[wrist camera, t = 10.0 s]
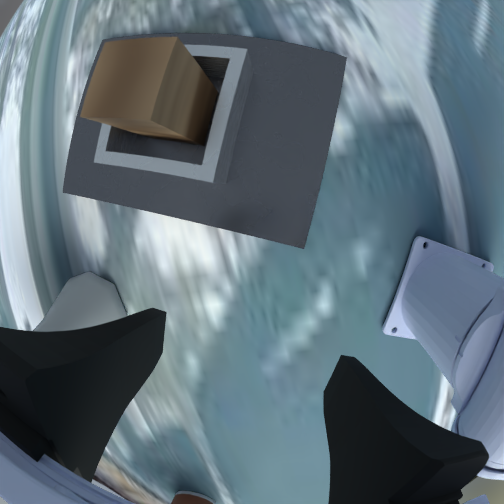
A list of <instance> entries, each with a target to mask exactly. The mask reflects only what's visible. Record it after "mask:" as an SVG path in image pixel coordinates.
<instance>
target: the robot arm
mask: <svg viewBox="0 0 504 504" xmlns="http://www.w3.org/2000/svg"><path fill="white" fill-rule="evenodd" d="M425 242H426V247H424V248H423V244H424V243H425ZM482 265H483V267H482ZM492 272H493V264H492V263H490V262H488V261H485V260H483V259H480V258H478V257H475V256H473V255H470V254H468V253H465V252H462V251H460V250H457V249H454V248H452V247H449V246H446V245H444V244H441V243H438V242H435V241H432V240H430V239H427V238H424V237H421V236H418V237H416V238H415V239H414V241H413V244H412V248H411V251H410V254H409V257H408V260H407V264H406V267H405V270H404V273H403V275H402V278H401V281H400V284H399V287H398V289H397V292H396V295H395V297H394V300H393V303H392V305H391V308H390V310H389V313H388V315H387V317H386V320H385V322H384V325H383V327H382V330H383V332H384V333H385V334H387V335H393V336H398V337H404V338H410V339H417V340H418V341H419V343H420V344H421V345H422V346H423V348H424V349H425V350H426V352H427V353H428V354H429V356H430V357H431V358H432V360H433V361H434V362H435V364H436V365H437V366H438V368H439V369H440V370H441V372H442V373H443V374H444V376H445V377H446V379H447V380H448V381H449V383H450V384H451V386H452V387H453V388H454V395H453V398H452V400H451V403H452V405H453V407H454V408H455V410H456V411H457V413H458V414H459V415H458V416H457V417H456V419H455V421H454V423H453V425H452V428H451V431H449V430H447V429H444V428H442V427H440V426H438V425H436V424H435V423H433V422H431V421H429V420H428V419H426V418H424V417H423V416H421V415H419V414H418V413H416V412H415V411H414V410H412V409H411V408H410V407H408V406H407V405H405V404H404V403H403V402H402V401H400V400H399V399H398V398H397V397H396V396H395V395H394V394H392V393H391V392H390V391H389V390H388V389H387V388H386V387H385V386H384V385H383V384H382V383H381V382H380V381H379V380H378V379H377V378H376V377H375V376H374V375H373V374H372V373H371V372H370V371H369V370H368V369H367V368H366V367H365V366H364V365H363V364H362V363H361V362H360V361H358V360H357V359H356V358H355V357H350V356H344V355H341V356H340V359H339V361H338V363H337V365H336V367H335V369H334V372H333V374H332V376H331V378H330V380H329V382H328V384H327V386H326V388H325V390H324V418H325V425H326V432H327V438H328V445H329V452H330V492H329V504H459V501H458V500H459V499H460V498H462V496H463V494H462V492H461V489H462V488H463V487H464V486H465V485H467V484H468V483H469V482H470V481H471V480H472V479H473V478H474V477H475V476H476V475H478V476H480V477H483V478H487V479H497V480H504V278H502V277H500V276H498V275H496V274H494V273H492ZM165 321H166V312H164V311H161V310H158V309H155V308H150V309H147V310H144V311H141V312H138V313H135V314H132V315H129V316H126V317H123V318H120V319H117V320H114V321H111V322H107V323H103V324H100V325H96V326H92V327H87V328H81V329H75V330H66V331H51V332H39V331H23V330H16V329H9V328H4V327H0V496H1V497H2V498H3V499H4V500H5V501H6V502H7V503H8V504H135V503H132V502H130V501H127V500H125V499H123V498H121V497H118V496H116V495H114V494H112V493H110V492H108V491H106V490H104V489H102V488H100V487H98V486H96V485H94V484H92V483H91V482H92V479H93V476H94V474H95V471H96V468H97V466H98V463H99V461H100V459H101V456H102V454H103V452H104V450H105V447H106V445H107V443H108V441H109V439H110V437H111V435H112V433H113V431H114V429H115V427H116V425H117V423H118V421H119V419H120V418H121V416H122V414H123V412H124V411H125V409H126V408H127V406H128V405H129V403H130V402H131V400H132V399H133V398H134V396H135V395H136V394H137V392H138V391H139V389H140V388H141V387H142V385H143V384H144V383H145V381H146V380H147V378H148V377H149V376H150V374H151V373H152V371H153V370H154V368H155V366H156V364H157V363H158V361H159V359H160V357H161V355H162V353H163V342H164V331H165ZM394 327H396V328H395V330H393V331H392V329H393V328H394ZM463 504H489V501H488V499H487V496H486V495H485V494H484V495H481V496H479V497H476V498H474V499H472V500H469V501H467V502H465V503H463Z"/></svg>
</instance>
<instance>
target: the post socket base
mask: <svg viewBox="0 0 504 504" xmlns="http://www.w3.org/2000/svg"><path fill="white" fill-rule="evenodd" d="M153 37H178V38H179V39H180V41H181V42H182V43H183V44H184V46H185V47H186V48H187V50H188V51H189V52H190V54H191V55H192V56H193V58H194V59H195V60H196V62H197V63H198V64H199V66H200V67H201V69H202V70H203V71H204V73H205V74H206V75H207V77H208V78H209V80H210V81H211V82H212V84H213V85H214V87H215V88H216V89H217V91H218V93H217V96H216V100H215V104H214V107H213V111H212V115H211V118H210V122H209V126H208V130H207V134H206V138H205V142H204V146H200V145H194V144H188V143H182V142H175V141H168V140H161V139H153V138H149V137H146V136H143V135H140V134H136V133H133V132H130V131H127V130H124V129H120V128H117V127H114V126H110V125H107V124H104V123H100V122H97V121H93V120H89V119H86V118H82V117H80V115H81V111H82V107H83V104H84V100H85V97H86V94H87V90H88V87H89V84H90V81H91V78H92V75H93V72H94V70H95V67H96V64H97V61H98V59H99V56H100V54H101V51H102V49H103V46H104V44H105V42H110V41H118V40H127V39H138V38H153ZM346 59H347V57H344V56H341V55H338V54H334V53H330V52H327V51H323V50H319V49H315V48H311V47H306V46H302V45H297V44H292V43H287V42H281V41H275V40H269V39H262V38H255V37H247V36H237V35H225V34H207V33H165V34H147V35H136V36H126V37H118V38H111V39H105V40H102V42H101V45H100V47H99V50H98V52H97V55H96V57H95V60H94V63H93V65H92V68H91V71H90V74H89V77H88V80H87V83H86V86H85V89H84V92H83V96H82V99H81V103H80V106H79V110H78V114H77V117H76V121H75V126H74V130H73V134H72V139H71V144H70V149H69V154H68V159H67V165H66V172H65V178H64V186H63V193H68V194H72V195H77V196H82V197H86V198H91V199H96V200H100V201H105V202H109V203H114V204H118V205H123V206H127V207H132V208H136V209H140V210H145V211H149V212H153V213H158V214H162V215H166V216H171V217H175V218H179V219H184V220H188V221H192V222H196V223H201V224H205V225H209V226H213V227H217V228H222V229H226V230H230V231H234V232H238V233H242V234H246V235H250V236H254V237H258V238H262V239H267V240H271V241H275V242H279V243H283V244H287V245H291V246H294V247H298V248H302V249H304V247H305V243H306V240H307V236H308V232H309V228H310V225H311V221H312V217H313V213H314V209H315V205H316V201H317V197H318V193H319V189H320V185H321V181H322V177H323V172H324V168H325V164H326V159H327V155H328V150H329V146H330V141H331V137H332V132H333V127H334V123H335V118H336V113H337V108H338V103H339V98H340V92H341V87H342V82H343V76H344V70H345V65H346Z"/></svg>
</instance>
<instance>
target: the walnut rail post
mask: <svg viewBox="0 0 504 504" xmlns="http://www.w3.org/2000/svg"><path fill="white" fill-rule="evenodd" d="M217 93H218V91H217V89H216V88H215V87H214V85H213V84H212V82H211V81H210V80H209V78H208V77H207V75H206V74H205V73H204V71H203V70H202V69H201V67H200V66H199V64H198V63H197V62H196V60H195V59H194V58H193V56H192V55H191V54H190V52H189V51H188V50H187V48H186V47H185V46H184V44H183V43H182V42H181V41H180V39H179V38H178V37H153V38H138V39H127V40H118V41H110V42H105V44H104V46H103V49H102V51H101V54H100V56H99V59H98V61H97V64H96V67H95V70H94V72H93V75H92V78H91V81H90V84H89V87H88V90H87V94H86V97H85V100H84V104H83V107H82V111H81V115H80V117H82V118H86V119H89V120H93V121H97V122H100V123H104V124H107V125H110V126H114V127H117V128H120V129H124V130H127V131H130V132H133V133H136V134H140V135H143V136H146V137H149V138H153V139H161V140H168V141H175V142H182V143H188V144H194V145H200V146H204V142H205V138H206V134H207V130H208V126H209V122H210V118H211V115H212V111H213V107H214V104H215V100H216V96H217Z"/></svg>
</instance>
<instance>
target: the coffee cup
mask: <svg viewBox="0 0 504 504" xmlns="http://www.w3.org/2000/svg"><path fill="white" fill-rule="evenodd" d="M215 503H216V502H215V501H214V500H213V499H211V498H209V497H208V496H205V495H203V494H200V493H196V492H192V491H178V492H177V493H176V494H175V497H174V499H173V501H172V503H171V504H215Z"/></svg>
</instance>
